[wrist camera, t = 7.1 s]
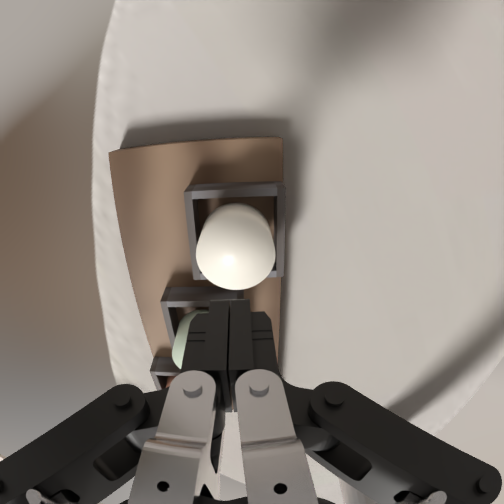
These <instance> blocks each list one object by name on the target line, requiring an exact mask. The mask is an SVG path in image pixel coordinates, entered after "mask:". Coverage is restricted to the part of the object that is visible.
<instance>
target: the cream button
mask: <svg viewBox="0 0 504 504" xmlns="http://www.w3.org/2000/svg"><path fill="white" fill-rule="evenodd" d="M196 259H197V264H198V267H199V269H200V271H201V272H202V274H203V275H204V276H205V277H206V278H207V279H208V280H209V281H210V282H212V283H213V284H215V285H217V286H219V287H222V288H225V289H230V290H242V289H247V288H250V287H253V286H255V285H257V284H259V283H260V282H261V281H263V280H264V279H265V278H266V277H267V276H268V275H269V273H270V272H271V270H272V268H273V265H274V262H275V247H274V242H273V239H272V235H271V231H270V227H269V224H268V221H267V220H266V218H265V216H264V215H263V214H262V213H261V212H260V211H259V210H258V209H256V208H254V207H253V206H250V205H248V204H244V203H228V204H225V205H222V206H220V207H218V208H217V209H215V210H214V211H213V212H212V213H211V214H210V215H209V216H208V217H207V219H206V221H205V223H204V226H203V229H202V232H201V235H200V238H199V241H198V244H197V248H196Z"/></svg>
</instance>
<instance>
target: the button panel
mask: <svg viewBox="0 0 504 504" xmlns="http://www.w3.org/2000/svg"><path fill="white" fill-rule="evenodd" d="M109 162H110V170H111V178H112V185H113V192H114V199H115V205H116V211H117V217H118V222H119V228H120V233H121V238H122V243H123V248H124V253H125V257H126V262H127V266H128V270H129V274H130V279H131V283H132V287H133V290H134V294H135V298H136V302H137V305H138V309H139V313H140V316H141V319H142V323H143V326H144V329H145V333H146V336H147V339H148V342H149V345H150V348H151V351H152V354H153V357H154V359H153V362H152V365H151V369H150V373H151V376H152V378H153V381H154V383H155V386H156V388H157V391H158V390H162V389H165V388H166V384H167V380H168V376H178V375H179V374H180V371H181V369H180V368H179V367H178V366H177V365H176V364H175V363H174V361H173V358H172V350H173V346H174V342H175V338H176V334H177V330H178V326H179V323H180V320H181V319H182V318H183V317H184V316H185V315H186V314H188V313H189V312H192V311H195V310H209V305H210V300H230V308H231V299H250V311H251V312H258V311H265V313H266V314H267V315H268V316H269V318H270V319H271V322H272V329H273V336H274V343H275V350H276V357H277V364H278V345H279V323H280V296H281V277H284V247H285V189H286V188H285V186H284V185H283V139H282V138H280V137H245V138H221V139H205V140H192V141H181V142H171V143H161V144H153V145H145V146H138V147H131V148H124V149H118V150H115V151H112V152H109ZM228 203H244V204H248V205H250V206H253V207H254V208H256V209H258V210H259V211H260V212H261V213H262V214H263V215H264V216H265V218H266V220H267V221H268V224H269V227H270V231H271V235H272V239H273V242H274V247H275V262H274V265H273V268H272V270H271V272H270V273H269V275H268V276H267V277H266V278H265V279H264V280H263V281H261V282H260V283H259V284H257V285H255V286H253V287H250V288H247V289H242V290H230V289H225V288H222V287H219V286H217V285H215V284H213V283H212V282H210V281H209V280H208V279H207V278H206V277H205V276H204V275H203V274H202V272H201V271H200V269H199V267H198V264H197V259H196V248H197V244H198V241H199V238H200V235H201V232H202V229H203V226H204V223H205V221H206V219H207V217H208V216H209V215H210V214H211V213H212V212H213V211H214V210H215V209H217V208H218V207H220V206H222V205H225V204H228ZM233 409H234V408H233V400H232V410H233Z"/></svg>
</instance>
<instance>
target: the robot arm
mask: <svg viewBox="0 0 504 504" xmlns="http://www.w3.org/2000/svg"><path fill="white" fill-rule="evenodd" d="M232 400H233V408H234V412H238V422H239V431H240V439H241V449H242V458H243V466H244V474H245V482H246V490H247V497H243V498H238V499H234V500H230V501H220V468H221V459H222V450H223V442H224V433H225V429H224V427H225V412H232ZM305 453H306V454H308V455H309V456H310V457H312V458H313V459H314V460H315V461H317V462H318V463H319V464H321V465H322V466H324V467H325V468H326V469H328V470H329V471H330V472H332V473H333V474H335V475H336V476H337V477H339V482H340V487H341V491H342V496H343V501H344V504H490V503H492V502H493V501H494V500H495V499H496V498H497V497H498V495H499V493H500V491H501V486H502V479H501V476H500V473H499V471H498V470H497V469H496V468H495V467H493V466H491V465H489V464H487V463H485V462H483V461H481V460H479V459H477V458H475V457H473V456H471V455H469V454H467V453H465V452H462V451H461V450H459V449H457V448H455V447H453V446H451V445H449V444H447V443H445V442H444V441H442V440H440V439H438V438H436V437H434V436H433V435H431V434H429V433H427V432H425V431H424V430H422V429H420V428H418V427H416V426H415V425H413V424H411V423H409V422H408V421H406V420H404V419H402V418H401V417H399V416H397V415H396V414H394V413H392V412H391V411H389V410H387V409H385V408H384V407H382V406H381V405H379V404H377V403H376V402H374V401H372V400H371V399H369V398H367V397H366V396H364V395H363V394H361V393H359V392H358V391H356V390H354V389H353V388H351V387H350V386H348V385H346V384H344V383H341V382H334V381H333V382H325V383H322V384H320V385H319V386H317V387H316V388H315V389H314V390H311V389H304V388H299V387H295V386H293V385H290V384H289V383H287V382H286V381H285V380H284V379H283V378H282V377H281V376H280V374H279V370H278V364H277V357H276V350H275V343H274V336H273V329H272V322H271V319H270V318H269V316H268V315H267V314H266V313H265V311H258V312H251V311H250V299H231V308H230V300H210V305H209V313H197V314H196V315H195V317H194V318H193V319H192V320H191V322H190V325H189V330H188V335H187V340H186V345H185V350H184V355H183V360H182V366H181V371H180V374H179V375H178V376H176V377H175V378H174V379H173V380H172V382H171V384H170V386H169V387H167V388H165V389H162V390H158V391H153V392H148V393H143V392H142V391H141V390H140V389H139V388H138V387H136V386H134V385H130V384H121V385H117V386H115V387H113V388H111V389H110V390H108V391H107V392H106V393H104V394H102V395H101V396H100V397H98V398H97V399H95V400H94V401H93V402H91V403H89V404H88V405H87V406H85V407H84V408H82V409H81V410H79V411H78V412H76V413H75V414H73V415H72V416H70V417H69V418H67V419H66V420H64V421H63V422H61V423H60V424H58V425H57V426H55V427H54V428H52V429H51V430H49V431H48V432H46V433H45V434H43V435H41V436H40V437H38V438H37V439H35V440H34V441H32V442H31V443H29V444H28V445H26V446H24V447H23V448H21V449H20V450H18V451H17V452H15V453H13V454H12V455H10V456H9V457H7V458H5V459H4V460H2V461H1V462H0V504H98V503H99V502H100V501H102V500H103V499H105V498H106V497H107V496H109V495H110V494H112V493H113V492H114V491H116V490H117V489H118V488H120V487H121V486H122V485H124V484H125V483H126V482H128V481H129V480H130V479H132V478H133V477H134V476H135V478H134V481H133V485H132V489H131V493H130V497H129V499H128V500H125V501H123V502H122V503H120V504H335V503H333V502H330V501H328V500H325V499H322V498H318V497H317V496H316V492H315V488H314V484H313V481H312V477H311V473H310V469H309V465H308V462H307V458H306V454H305Z"/></svg>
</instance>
